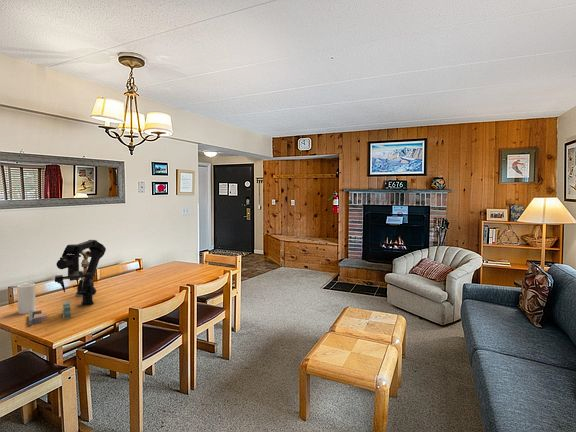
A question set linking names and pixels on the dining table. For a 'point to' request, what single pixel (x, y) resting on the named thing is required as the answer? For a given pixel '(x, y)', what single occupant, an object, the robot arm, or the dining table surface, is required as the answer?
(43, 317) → the tile
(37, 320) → the stop bay
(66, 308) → the scraper
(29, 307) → the cup
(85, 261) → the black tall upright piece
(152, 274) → the dining table surface
